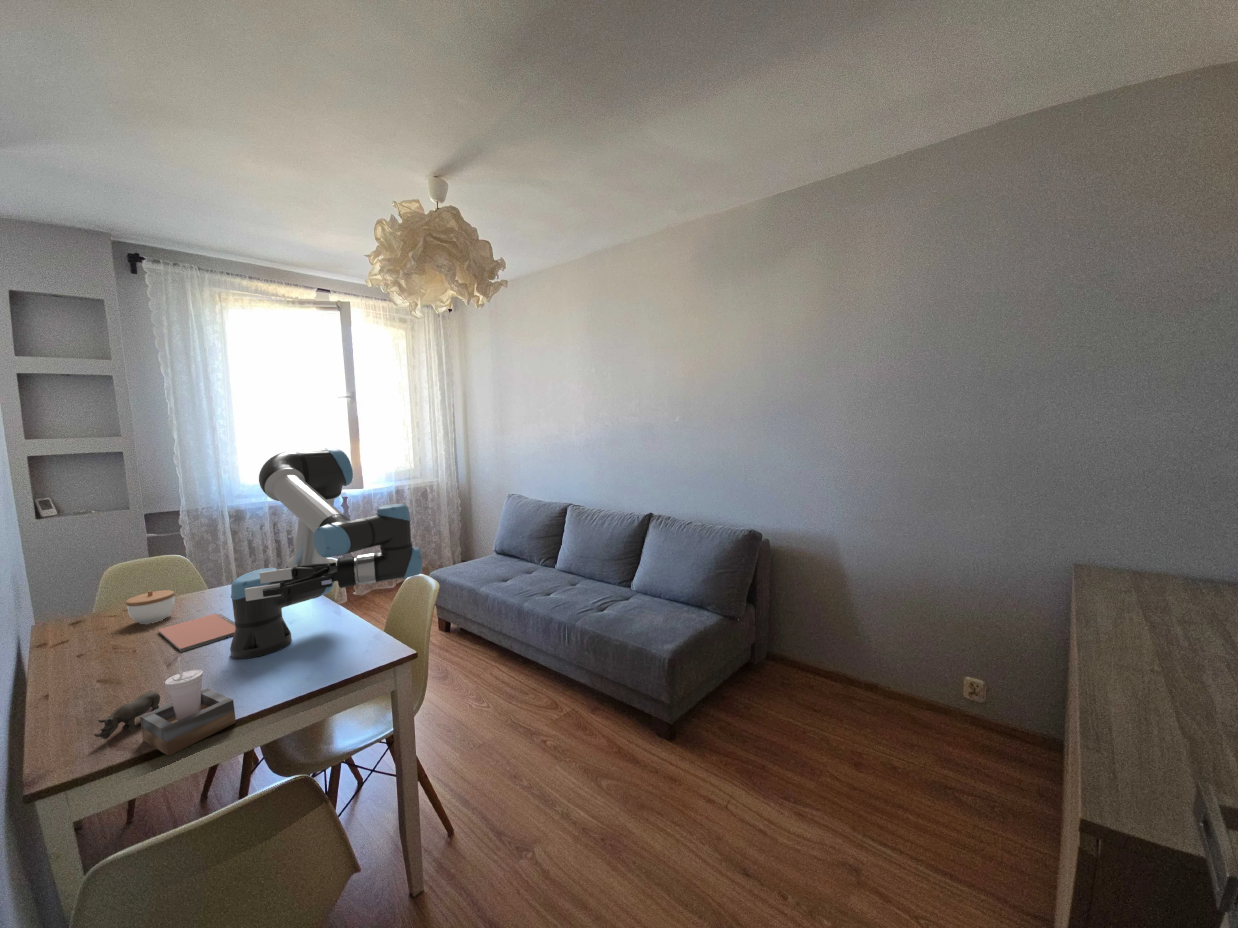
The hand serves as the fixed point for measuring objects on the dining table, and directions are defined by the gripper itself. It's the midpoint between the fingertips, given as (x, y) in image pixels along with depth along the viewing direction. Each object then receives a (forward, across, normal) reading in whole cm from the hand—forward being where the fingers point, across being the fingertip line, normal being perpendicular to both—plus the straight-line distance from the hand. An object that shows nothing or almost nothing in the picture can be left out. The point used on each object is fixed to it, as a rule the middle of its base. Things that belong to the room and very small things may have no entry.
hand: (253, 585), depth 113 cm
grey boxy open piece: (+14, -3, -30) cm, 33 cm away
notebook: (+30, +66, -31) cm, 79 cm away
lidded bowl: (+50, +90, -30) cm, 107 cm away
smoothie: (+14, -3, -27) cm, 30 cm away
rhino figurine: (+27, +6, -30) cm, 41 cm away
